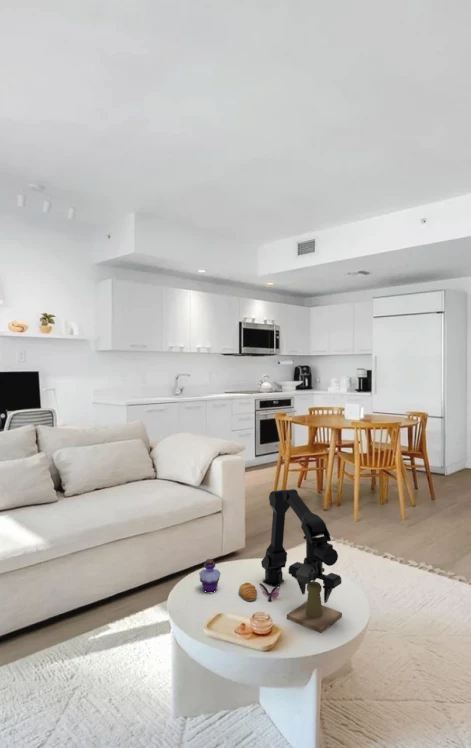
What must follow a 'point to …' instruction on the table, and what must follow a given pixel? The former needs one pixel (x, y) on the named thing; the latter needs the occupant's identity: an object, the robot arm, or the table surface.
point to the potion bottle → (209, 576)
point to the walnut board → (314, 623)
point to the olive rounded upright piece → (314, 600)
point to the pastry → (248, 592)
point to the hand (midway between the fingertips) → (314, 598)
